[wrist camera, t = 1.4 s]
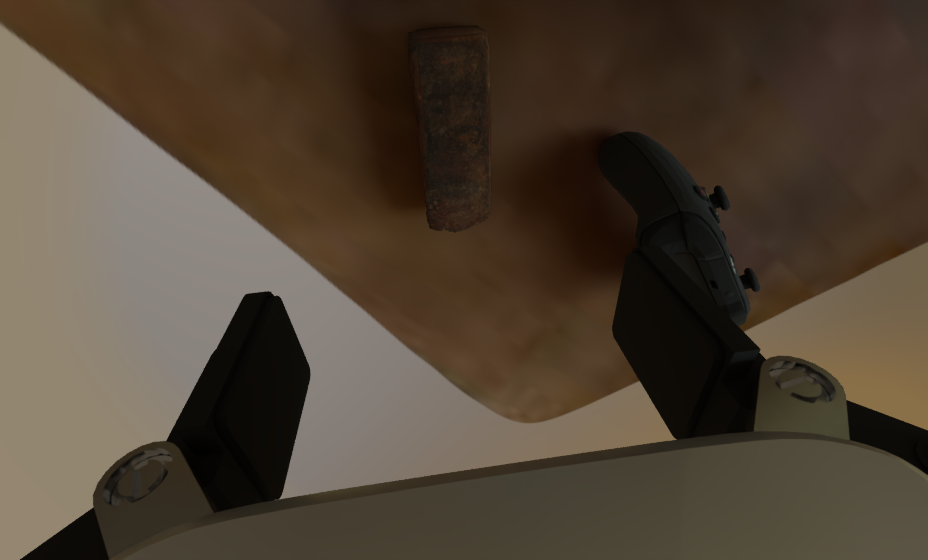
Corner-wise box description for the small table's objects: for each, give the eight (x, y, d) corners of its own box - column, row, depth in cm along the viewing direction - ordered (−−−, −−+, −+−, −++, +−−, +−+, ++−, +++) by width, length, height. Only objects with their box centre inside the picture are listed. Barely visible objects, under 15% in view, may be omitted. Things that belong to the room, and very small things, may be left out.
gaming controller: (711, 244, 33) (808, 328, 25) (643, 284, 35) (713, 374, 27) (650, 97, 26) (760, 148, 18) (567, 155, 27) (633, 227, 19)
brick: (406, 28, 22) (405, 38, 19) (478, 24, 23) (492, 32, 19) (425, 206, 29) (428, 240, 25) (482, 201, 29) (493, 234, 25)
